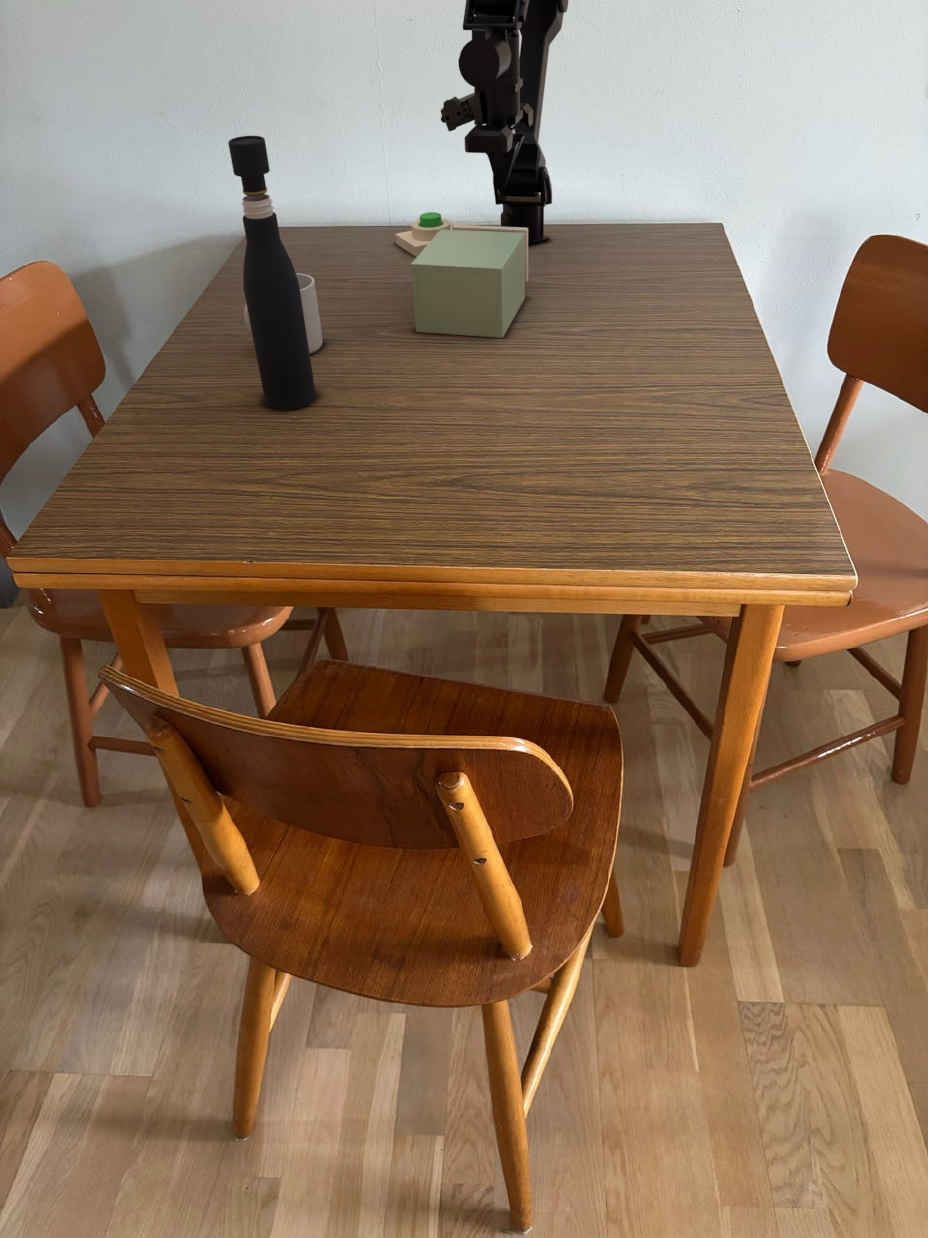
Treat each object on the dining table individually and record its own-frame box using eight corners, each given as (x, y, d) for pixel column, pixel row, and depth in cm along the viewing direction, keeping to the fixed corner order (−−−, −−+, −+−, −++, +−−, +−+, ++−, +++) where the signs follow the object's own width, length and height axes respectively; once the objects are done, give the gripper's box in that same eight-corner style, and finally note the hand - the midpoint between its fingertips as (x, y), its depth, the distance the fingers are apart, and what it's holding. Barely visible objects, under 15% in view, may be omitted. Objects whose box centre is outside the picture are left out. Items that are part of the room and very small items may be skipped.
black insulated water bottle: (274, 415, 117) (225, 150, 98) (258, 394, 122) (208, 138, 103) (323, 402, 119) (284, 140, 100) (305, 382, 124) (265, 129, 105)
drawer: (463, 267, 152) (461, 216, 147) (533, 270, 149) (533, 218, 144) (432, 309, 139) (428, 254, 134) (508, 313, 136) (507, 258, 132)
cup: (325, 354, 131) (316, 289, 125) (252, 363, 129) (239, 298, 124) (321, 333, 136) (312, 270, 130) (250, 342, 135) (238, 279, 129)
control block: (447, 232, 168) (446, 212, 166) (468, 245, 163) (468, 223, 160) (395, 243, 165) (394, 222, 162) (416, 256, 159) (414, 235, 157)
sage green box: (444, 293, 146) (440, 229, 140) (524, 298, 143) (524, 232, 137) (415, 332, 135) (410, 263, 129) (502, 338, 132) (501, 268, 126)
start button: (435, 221, 164) (435, 210, 162) (445, 226, 161) (444, 215, 160) (416, 225, 162) (416, 214, 161) (426, 230, 160) (425, 219, 159)
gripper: (461, 60, 145) (465, 170, 155) (426, 86, 131) (433, 205, 141) (534, 60, 142) (533, 172, 152) (505, 86, 128) (507, 208, 138)
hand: (501, 188), depth 146 cm, fingers closed
